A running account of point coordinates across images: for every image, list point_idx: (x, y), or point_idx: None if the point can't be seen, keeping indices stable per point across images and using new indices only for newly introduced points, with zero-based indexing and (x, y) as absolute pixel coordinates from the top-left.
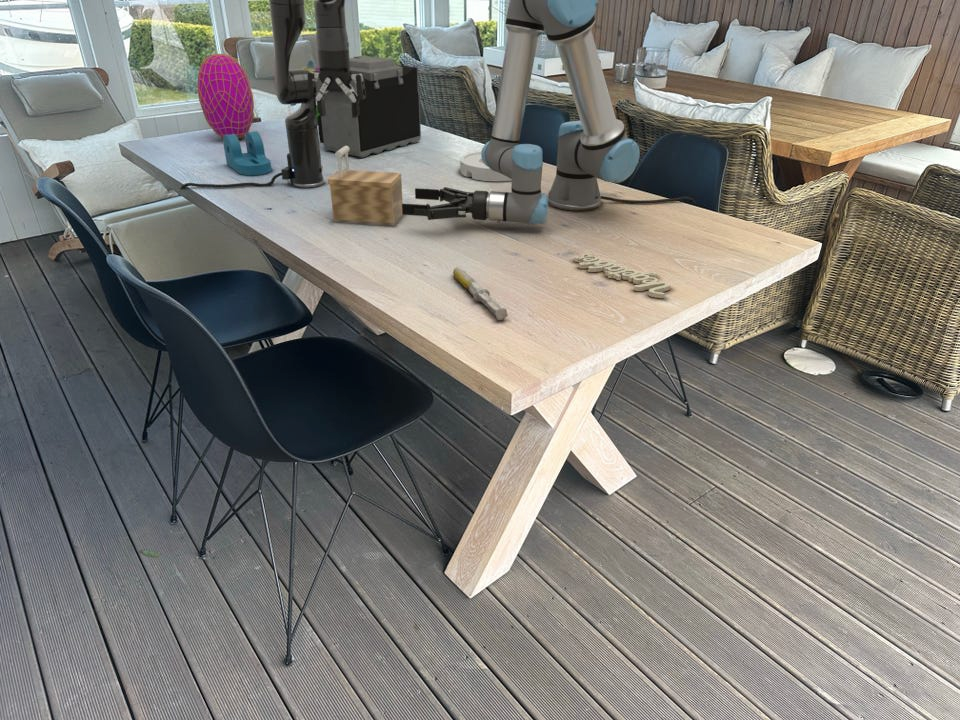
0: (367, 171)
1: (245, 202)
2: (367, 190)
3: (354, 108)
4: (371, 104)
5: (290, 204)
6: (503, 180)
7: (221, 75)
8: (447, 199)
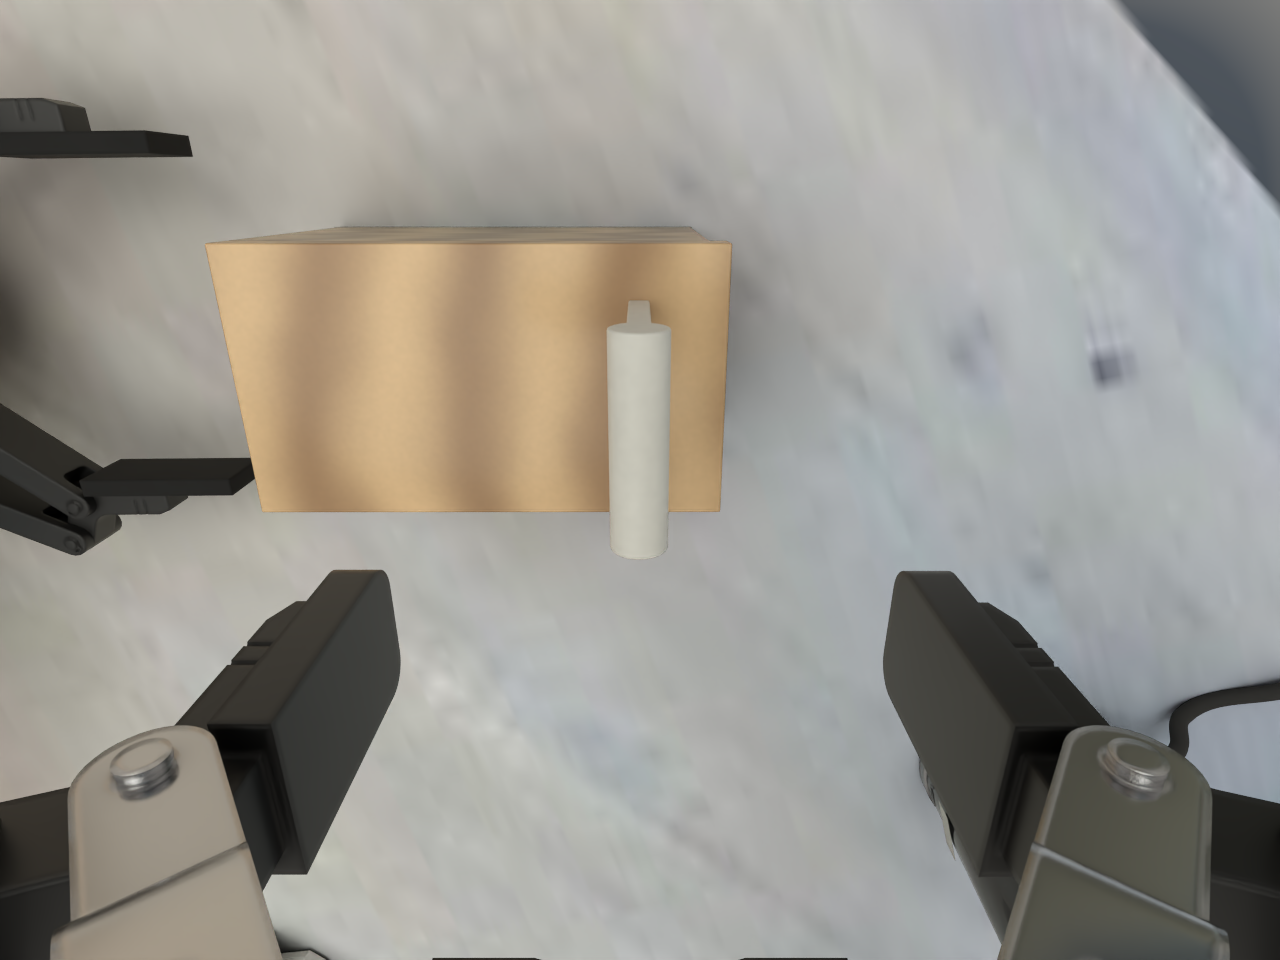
0: (507, 502)
1: (1262, 447)
2: (422, 239)
3: (271, 665)
4: None
5: (1009, 463)
6: None
7: None
8: (40, 438)
